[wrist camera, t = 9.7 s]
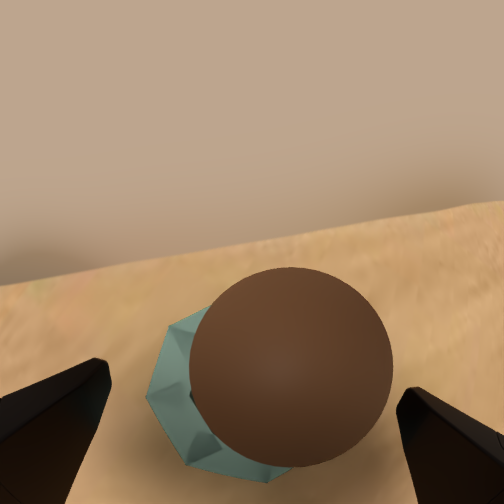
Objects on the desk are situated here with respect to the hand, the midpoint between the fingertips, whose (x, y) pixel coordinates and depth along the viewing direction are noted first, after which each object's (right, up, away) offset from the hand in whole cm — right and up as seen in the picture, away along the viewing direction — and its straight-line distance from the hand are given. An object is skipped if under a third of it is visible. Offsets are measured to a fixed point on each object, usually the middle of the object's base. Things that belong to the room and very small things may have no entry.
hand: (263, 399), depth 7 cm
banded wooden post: (-1, -4, +8) cm, 9 cm away
